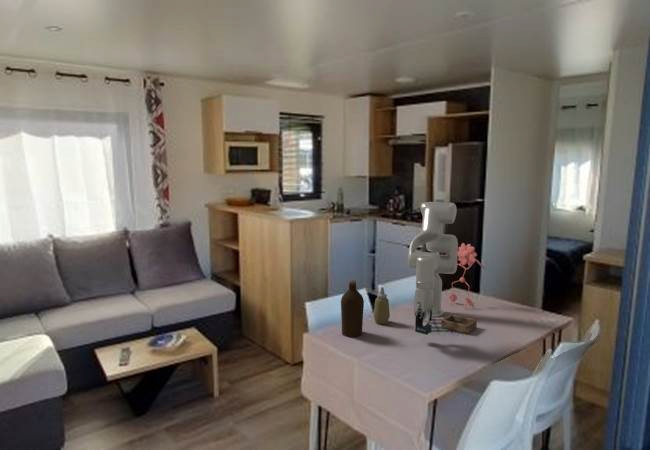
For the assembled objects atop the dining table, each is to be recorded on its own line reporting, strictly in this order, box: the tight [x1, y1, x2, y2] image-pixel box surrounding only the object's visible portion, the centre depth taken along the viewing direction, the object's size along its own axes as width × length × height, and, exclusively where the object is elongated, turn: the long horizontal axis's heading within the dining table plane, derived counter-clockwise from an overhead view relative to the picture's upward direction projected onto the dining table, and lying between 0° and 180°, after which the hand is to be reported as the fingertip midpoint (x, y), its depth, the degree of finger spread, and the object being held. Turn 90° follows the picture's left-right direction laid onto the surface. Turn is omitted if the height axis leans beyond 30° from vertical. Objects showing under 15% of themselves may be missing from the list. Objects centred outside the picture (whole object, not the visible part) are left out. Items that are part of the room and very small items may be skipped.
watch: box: [414, 309, 432, 336], centre depth 197 cm, size 6×8×11 cm
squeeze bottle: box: [373, 286, 391, 325], centre depth 222 cm, size 8×8×18 cm
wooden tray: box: [441, 314, 478, 336], centre depth 216 cm, size 13×11×4 cm
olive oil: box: [340, 280, 365, 338], centre depth 208 cm, size 11×11×25 cm
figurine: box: [445, 242, 486, 310], centre depth 250 cm, size 15×26×35 cm, turn 38°
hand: (423, 322), depth 197 cm, fingers closed on watch, 8 cm apart
